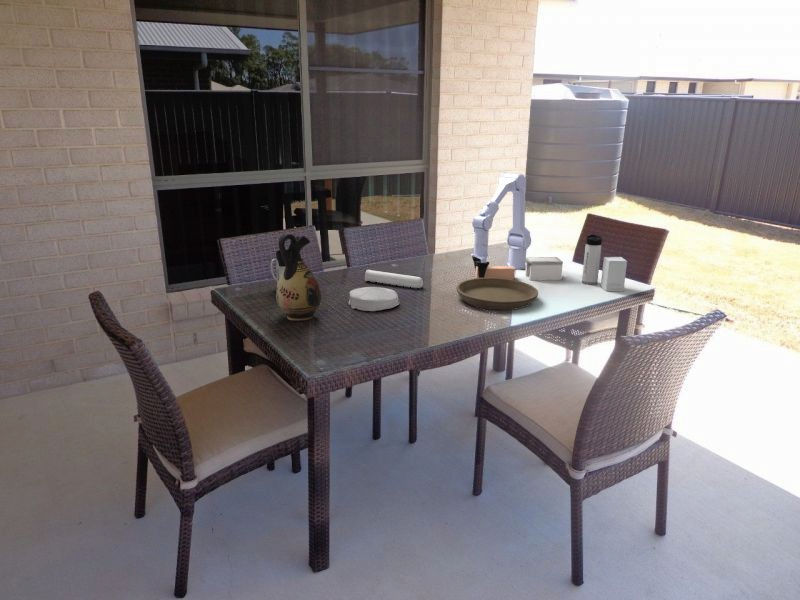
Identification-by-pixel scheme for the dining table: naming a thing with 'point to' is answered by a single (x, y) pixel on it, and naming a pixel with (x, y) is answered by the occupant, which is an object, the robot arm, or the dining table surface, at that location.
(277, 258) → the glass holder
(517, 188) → the robot arm
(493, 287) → the plant saucer
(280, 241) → the ceramic jug
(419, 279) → the tube
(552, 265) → the dispenser
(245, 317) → the dining table surface
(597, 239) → the travel mug
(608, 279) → the supplement box
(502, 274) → the orange long block
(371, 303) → the food container
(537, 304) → the dining table surface
